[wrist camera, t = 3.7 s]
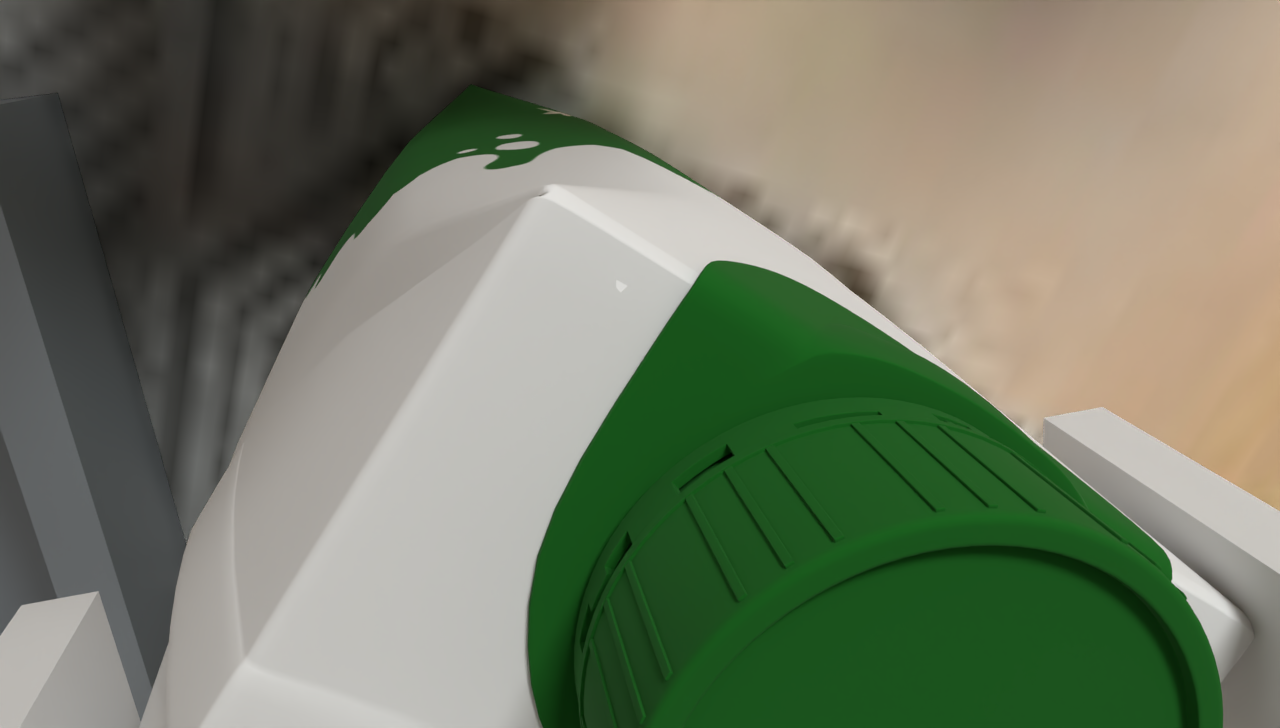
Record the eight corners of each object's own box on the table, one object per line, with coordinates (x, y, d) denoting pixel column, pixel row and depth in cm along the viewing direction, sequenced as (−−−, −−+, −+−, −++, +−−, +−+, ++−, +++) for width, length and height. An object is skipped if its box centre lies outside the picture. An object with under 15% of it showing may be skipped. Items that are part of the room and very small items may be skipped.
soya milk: (765, 227, 26) (1588, 766, 7) (571, 519, 28) (853, 1571, 9) (454, 23, 23) (526, 67, 5) (258, 360, 25) (-276, 1408, 6)
